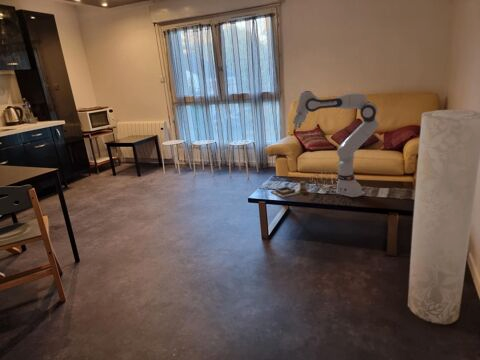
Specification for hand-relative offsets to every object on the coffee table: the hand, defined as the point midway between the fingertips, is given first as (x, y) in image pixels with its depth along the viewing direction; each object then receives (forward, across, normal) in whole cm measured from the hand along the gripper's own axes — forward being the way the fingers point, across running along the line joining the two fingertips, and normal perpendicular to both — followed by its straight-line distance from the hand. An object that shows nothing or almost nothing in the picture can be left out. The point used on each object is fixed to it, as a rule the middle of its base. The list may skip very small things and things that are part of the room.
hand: (297, 128), depth 268 cm
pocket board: (+51, -12, -8) cm, 53 cm away
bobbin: (+47, -5, -20) cm, 51 cm away
